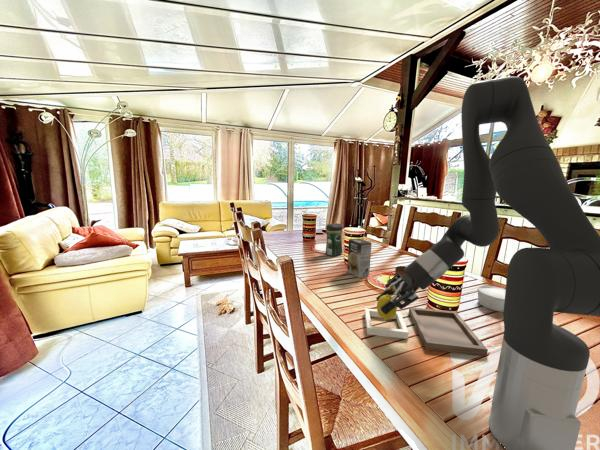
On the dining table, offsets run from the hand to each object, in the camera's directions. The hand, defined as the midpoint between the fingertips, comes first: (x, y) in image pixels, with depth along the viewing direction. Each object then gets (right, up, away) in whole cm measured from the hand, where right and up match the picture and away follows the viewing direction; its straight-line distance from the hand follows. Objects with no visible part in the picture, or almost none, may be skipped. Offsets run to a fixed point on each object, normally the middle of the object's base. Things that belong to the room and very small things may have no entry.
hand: (380, 306), depth 72 cm
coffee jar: (-4, +6, +72) cm, 73 cm away
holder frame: (+2, -6, +1) cm, 7 cm away
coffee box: (+3, +1, +42) cm, 42 cm away
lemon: (+2, -4, +1) cm, 5 cm away
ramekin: (+45, -4, +13) cm, 47 cm away
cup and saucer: (+21, -1, +33) cm, 39 cm away
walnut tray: (+17, -7, -2) cm, 19 cm away
